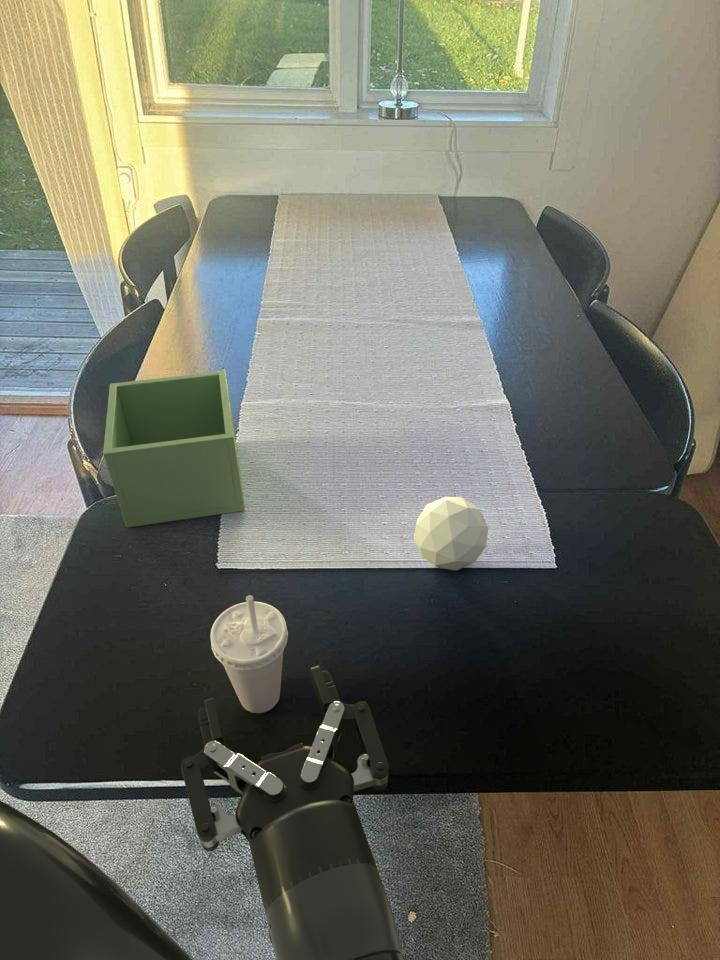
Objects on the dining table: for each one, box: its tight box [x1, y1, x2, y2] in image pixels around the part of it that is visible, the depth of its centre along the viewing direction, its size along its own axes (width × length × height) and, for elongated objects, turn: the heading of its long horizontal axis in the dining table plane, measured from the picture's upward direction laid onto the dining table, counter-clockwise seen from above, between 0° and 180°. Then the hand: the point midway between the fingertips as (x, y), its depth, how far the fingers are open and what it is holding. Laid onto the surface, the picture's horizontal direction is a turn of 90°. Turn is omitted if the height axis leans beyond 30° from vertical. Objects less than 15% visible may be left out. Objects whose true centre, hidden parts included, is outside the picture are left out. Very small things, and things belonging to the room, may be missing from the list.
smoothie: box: [209, 594, 289, 714], centre depth 60 cm, size 6×6×14 cm
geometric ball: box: [413, 496, 489, 572], centre depth 75 cm, size 8×8×8 cm
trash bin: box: [102, 370, 246, 529], centre depth 83 cm, size 14×14×11 cm
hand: (263, 687), depth 56 cm, fingers open, 8 cm apart
